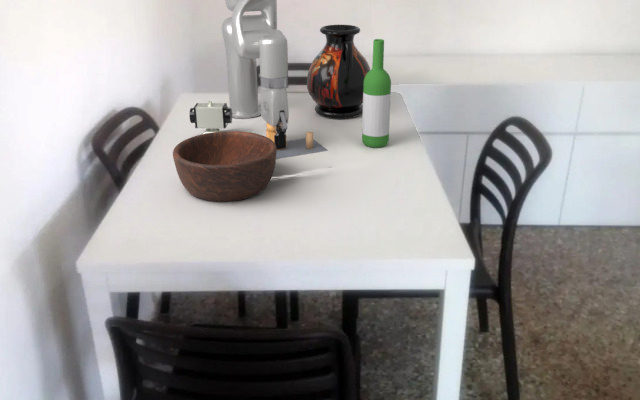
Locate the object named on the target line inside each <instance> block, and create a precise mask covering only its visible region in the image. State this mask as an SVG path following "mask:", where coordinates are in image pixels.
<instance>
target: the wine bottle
mask: <svg viewBox="0 0 640 400" xmlns="http://www.w3.org/2000/svg"><path fill="white" fill-rule="evenodd" d="M372 43H373V44H372V45H373V46H372V47H373V49H372V65H371V66H372V67H371V68H370V71H369V72H368V73H367V74H366V76H365V78H364V87H363V103H362V106H363V113H362V120H361V122H362V124H361V125H362V126H361V127H362V128H361V132H362V133H361V141H362V143H363V145H364V146H366V147H369V148H382V147H385V146H387V145H388V144H389V138H390V123H391V122H390V119H391V118H390V117H391V116H390V115H391V99H392V98H391V97H392V96H391V95H392V94H391V93H392V80H391V77H390V74H389V73H388V72H387V71H386V70H385V69H384V60H385V59H384V54H385V40H384V39H382V38H376V39H373V42H372Z"/></svg>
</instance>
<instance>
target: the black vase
mask: <svg viewBox="0 0 640 400" xmlns="http://www.w3.org/2000/svg"><path fill="white" fill-rule="evenodd" d="M319 32H320V33H321V34H323V35H324V36H325V40H326V43H325V45H324V47H323V48H322V49H321V50H320V51H319V53H318V54H317V55H316V56H315V57H314V59H313V60H312V62H311V64H310V66H309V68H308V73H307V76H306V86H307V87H306V90H307V92H308V94H309V96H310V98H311V99H312V100H313V102H314V103H316V104H315V107H314V111H315V113H316V114H317V115H318V116H321V117H324V118H326V119H327V118H328V119H335V120H338V119H339V120H345V119H346V120H347V119H353V118H356V117H358V116H360V115H363V87H364V78H365V76H366V74H367V73H368V72H369V71H370V70H371V67H370V65H369V62H368V61H367V59H366V57H364V55H363V54H362V52H360V50H359V49H358V48H357V47H356V45H355V43H354V42H355V41H354V38H355V35H358V34H360V33H361V29H360V27H359V26H356V25H351V24H328V25H324V26H321V27H320V29H319Z"/></svg>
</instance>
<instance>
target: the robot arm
mask: <svg viewBox="0 0 640 400" xmlns="http://www.w3.org/2000/svg"><path fill="white" fill-rule="evenodd" d="M224 1H225V4H226V5H225V6H226V7H227V9H228V10H229V11H231V12H232V15H231V16H229V17H227V18H225V19H224V20H223V21H222V23H221V33H222V34H221V35H222V38H223V43H224V48H225V57H226V67H227V70H226V71H227V83H228V84H227V85H228V99H229V103H228V104H229V106H228V108H231V109H232V118H234V119H235V118H236V119H250V118H256V117H259V116H261V118H262V120H263V121H264V122H266V124H265V125H266V128H267V123H269V124H270V125H271V126H274V127H275V134H276V135H274V142H275V144H276V147H277V149H282V148H286V141H287V129H289V127H288V123H289V101H288V100H289V99H288V92H287V89H289V61H288V60H289V55H288V54H289V53H288V52H289V50H288V49H289V48H288V39H287V37H286V36H285V34H284V33H283V32H282V30H279V29H278V2H277V0H224ZM245 12H261V14H246V15H244V14H245ZM257 59H259V73H260V78H259V79H260V89H261V91H260V93H261V94H260V105H259V96H258V95H259V92H258V67H257ZM278 122H281V124H277V123H278ZM278 126H281V128H279V130H278Z"/></svg>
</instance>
